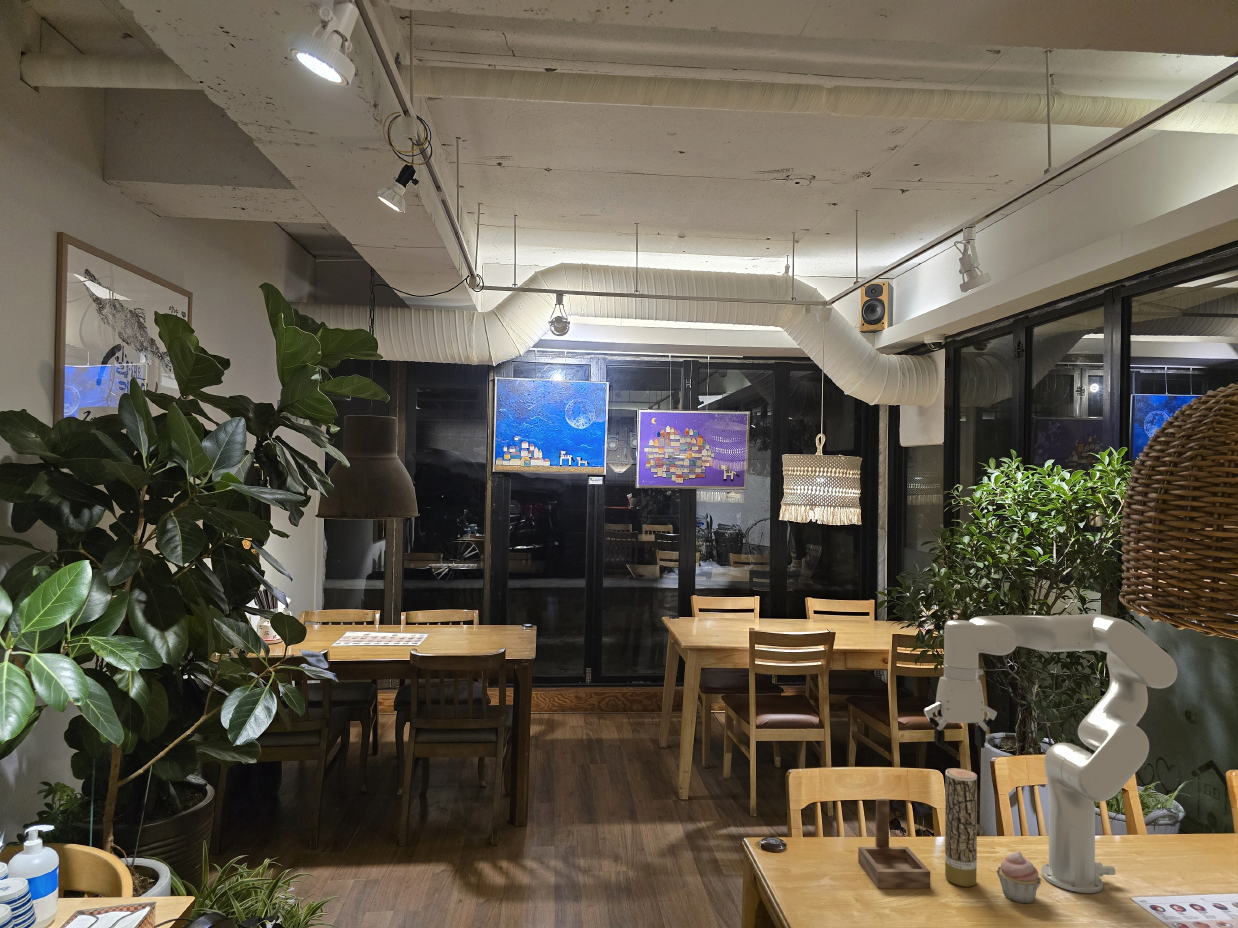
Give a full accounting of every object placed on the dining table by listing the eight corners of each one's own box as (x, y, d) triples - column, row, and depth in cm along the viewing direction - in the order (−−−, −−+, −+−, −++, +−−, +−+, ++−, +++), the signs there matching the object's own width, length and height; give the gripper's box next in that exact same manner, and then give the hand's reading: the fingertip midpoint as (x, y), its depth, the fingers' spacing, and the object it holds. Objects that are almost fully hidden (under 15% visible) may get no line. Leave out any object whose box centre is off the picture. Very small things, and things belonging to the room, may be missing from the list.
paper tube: (979, 889, 176) (980, 779, 177) (948, 885, 177) (949, 776, 178) (972, 875, 182) (972, 769, 183) (942, 871, 184) (942, 766, 185)
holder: (905, 859, 190) (906, 798, 190) (930, 887, 176) (930, 821, 177) (856, 859, 189) (857, 798, 190) (877, 887, 176) (878, 821, 176)
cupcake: (1052, 905, 169) (1052, 860, 170) (1014, 908, 168) (1014, 862, 168) (1023, 884, 179) (1023, 841, 179) (987, 886, 177) (987, 843, 178)
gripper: (987, 670, 186) (986, 741, 185) (918, 668, 185) (917, 740, 184) (1004, 677, 178) (1004, 751, 178) (932, 676, 178) (931, 750, 177)
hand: (959, 745), depth 181 cm, fingers open, 9 cm apart
